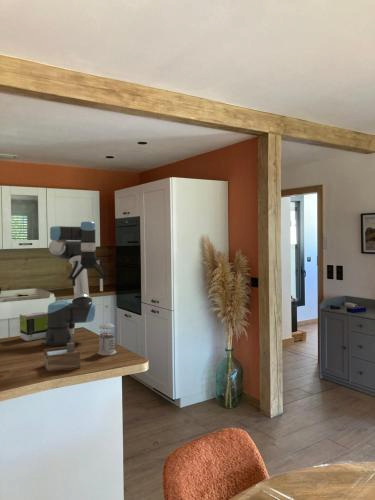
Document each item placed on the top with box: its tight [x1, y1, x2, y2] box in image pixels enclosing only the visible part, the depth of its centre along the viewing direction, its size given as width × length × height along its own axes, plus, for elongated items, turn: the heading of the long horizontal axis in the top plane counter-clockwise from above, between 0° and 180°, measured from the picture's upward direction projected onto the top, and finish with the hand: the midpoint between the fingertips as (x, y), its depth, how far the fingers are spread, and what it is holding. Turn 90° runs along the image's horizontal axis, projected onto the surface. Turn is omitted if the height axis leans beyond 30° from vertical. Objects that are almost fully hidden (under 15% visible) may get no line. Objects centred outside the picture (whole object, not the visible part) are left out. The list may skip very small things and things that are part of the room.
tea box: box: [19, 310, 48, 342], centre depth 247 cm, size 15×10×15 cm
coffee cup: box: [69, 323, 76, 336], centre depth 256 cm, size 10×10×15 cm
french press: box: [97, 304, 117, 356], centre depth 215 cm, size 10×12×25 cm
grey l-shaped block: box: [47, 341, 76, 356], centre depth 192 cm, size 10×12×6 cm
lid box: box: [43, 346, 81, 373], centre depth 192 cm, size 12×14×8 cm
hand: (88, 291), depth 215 cm, fingers open, 13 cm apart
